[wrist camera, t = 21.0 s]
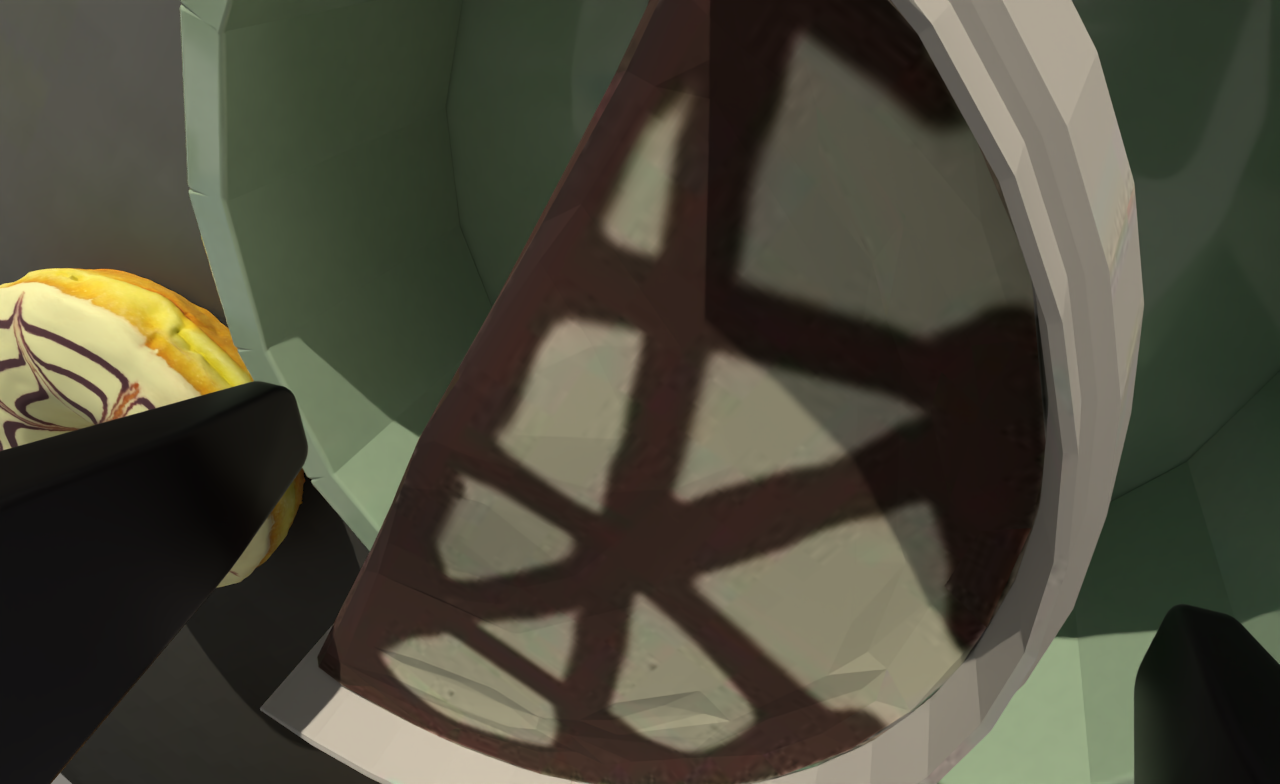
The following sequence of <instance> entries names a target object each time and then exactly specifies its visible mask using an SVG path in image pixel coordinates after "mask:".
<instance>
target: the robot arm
mask: <svg viewBox="0 0 1280 784" xmlns="http://www.w3.org/2000/svg"><path fill="white" fill-rule="evenodd" d="M307 455H308V442H307V439H306V435H305V431H304V427H303V423H302V419H301V416H300V412H299V408H298V404H297V400H296V398H295V396H294V394H293V393H292V392H291V390H289V389H288V388H286V387H284V386H280V385H275V384H271V383H267V382H262V381H253V382H249V383H245V384H241V385H238V386H234V387H230V388H227V389H223V390H220V391H216V392H212V393H209V394H205V395H201V396H198V397H194V398H191V399H187V400H183V401H180V402H176V403H172V404H169V405H165V406H162V407H158V408H154V409H151V410H147V411H143V412H140V413H136V414H133V415H129V416H125V417H122V418H118V419H114V420H111V421H107V422H104V423H100V424H96V425H93V426H89V427H85V428H82V429H78V430H75V431H71V432H67V433H64V434H60V435H57V436H53V437H49V438H46V439H42V440H38V441H35V442H31V443H28V444H24V445H20V446H17V447H13V448H9V449H6V450H2V451H0V784H51V783H52V782H53V780H54V779H55V778H56V777H57V776H58V774H59V773H60V772H61V771H62V770H63V769H64V767H65V766H66V765H67V764H68V763H69V761H70V760H71V759H72V758H73V757H74V756H75V754H76V753H77V752H78V751H79V750H80V748H81V747H82V746H83V745H84V744H85V743H86V741H87V740H88V739H89V738H90V737H91V735H92V734H93V733H94V732H95V731H96V729H97V728H98V727H99V726H100V725H101V724H102V722H103V721H104V720H105V719H106V718H107V716H108V715H109V714H110V713H111V712H112V711H113V709H114V708H115V707H116V706H117V705H118V703H119V702H120V701H121V700H122V699H123V697H124V696H125V695H126V694H127V693H128V692H129V690H130V689H131V688H132V687H133V686H134V684H135V683H136V682H137V681H138V680H139V679H140V677H141V676H142V675H143V674H144V673H145V671H146V670H147V669H148V668H149V667H150V665H151V664H152V663H153V662H154V661H155V660H156V658H157V657H158V656H159V655H160V654H161V652H162V651H163V650H164V649H165V648H166V647H167V645H168V644H169V643H170V642H171V641H172V639H173V638H174V637H175V636H176V635H177V633H178V632H179V631H180V630H181V629H182V628H183V626H184V625H185V624H186V623H187V622H188V620H189V619H190V618H191V617H192V616H193V615H194V613H195V612H196V611H197V610H198V609H199V607H200V606H201V605H202V604H203V603H204V601H205V600H206V599H207V598H208V597H209V596H210V594H211V593H212V592H213V591H214V590H215V588H216V587H217V586H218V585H219V584H220V582H221V581H222V580H223V579H224V577H225V576H226V575H227V574H228V572H229V571H230V570H231V569H232V567H233V566H234V565H235V563H236V562H237V560H238V559H239V558H240V556H241V555H242V554H243V552H244V551H245V549H246V548H247V546H248V545H249V544H250V542H251V541H252V539H253V538H254V536H255V535H256V534H257V532H258V531H259V529H260V528H261V526H262V525H263V523H264V522H265V521H266V519H267V518H268V516H269V515H270V513H271V512H272V511H273V509H274V508H275V506H276V505H277V503H278V502H279V501H280V499H281V498H282V496H283V495H284V493H285V492H286V490H287V489H288V488H289V486H290V485H291V483H292V482H293V480H294V479H295V478H296V476H297V475H298V473H299V472H300V470H301V469H302V467H303V466H304V464H305V461H306V459H307ZM1134 784H1280V664H1279V663H1278V662H1277V661H1276V660H1275V659H1274V658H1273V657H1272V656H1271V655H1270V654H1269V653H1268V652H1267V651H1266V649H1265V648H1264V647H1263V646H1262V645H1261V644H1260V643H1259V642H1258V641H1257V640H1256V639H1255V638H1254V637H1253V636H1252V635H1251V634H1250V632H1249V631H1248V630H1247V629H1246V628H1245V627H1244V626H1243V625H1242V624H1241V623H1240V622H1239V621H1238V620H1236V619H1235V618H1234V617H1232V616H1230V615H1227V614H1225V613H1221V612H1216V611H1212V610H1208V609H1204V608H1200V607H1196V606H1192V605H1187V604H1178V605H1175V606H1173V607H1172V608H1171V609H1170V610H1169V611H1168V612H1167V614H1166V615H1165V617H1164V619H1163V621H1162V623H1161V625H1160V627H1159V629H1158V631H1157V633H1156V634H1155V636H1154V638H1153V640H1152V642H1151V644H1150V646H1149V648H1148V650H1147V652H1146V654H1145V656H1144V658H1143V660H1142V662H1141V664H1140V666H1139V669H1138V672H1137V675H1136V680H1135V686H1134Z"/></svg>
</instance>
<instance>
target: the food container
mask: <svg viewBox="0 0 1280 784" xmlns="http://www.w3.org/2000/svg"><path fill="white" fill-rule="evenodd" d="M1143 311H1144V296H1143V284H1142V272H1141V259H1140V247H1139V234H1138V222H1137V209H1136V197H1135V184H1134V180H1133V176H1132V173H1131V169H1130V166H1129V162H1128V159H1127V155H1126V152H1125V148H1124V144H1123V141H1122V137H1121V134H1120V130H1119V127H1118V123H1117V120H1116V116H1115V113H1114V109H1113V105H1112V102H1111V98H1110V95H1109V91H1108V88H1107V84H1106V81H1105V77H1104V74H1103V70H1102V66H1101V63H1100V59H1099V56H1098V52H1097V50H1096V48H1095V46H1094V44H1093V42H1092V40H1091V38H1090V36H1089V34H1088V32H1087V30H1086V28H1085V26H1084V24H1083V22H1082V20H1081V18H1080V16H1079V14H1078V12H1077V10H1076V8H1075V6H1074V4H1073V2H1072V0H649V2H648V5H647V7H646V10H645V12H644V14H643V16H642V18H641V20H640V22H639V24H638V26H637V29H636V31H635V33H634V35H633V37H632V39H631V41H630V43H629V46H628V48H627V50H626V52H625V54H624V56H623V58H622V60H621V62H620V65H619V67H618V69H617V71H616V73H615V75H614V77H613V79H612V81H611V83H610V85H609V86H608V88H607V90H606V92H605V94H604V96H603V98H602V100H601V102H600V104H599V106H598V107H597V109H596V111H595V113H594V115H593V117H592V119H591V121H590V123H589V125H588V127H587V129H586V130H585V132H584V134H583V136H582V138H581V140H580V142H579V144H578V146H577V148H576V150H575V151H574V153H573V155H572V157H571V159H570V161H569V163H568V165H567V167H566V169H565V171H564V172H563V174H562V176H561V178H560V180H559V182H558V184H557V186H556V188H555V190H554V192H553V194H552V195H551V197H550V199H549V201H548V203H547V205H546V207H545V209H544V211H543V212H542V214H541V216H540V218H539V220H538V222H537V224H536V226H535V228H534V229H533V231H532V233H531V235H530V237H529V239H528V241H527V243H526V245H525V246H524V248H523V250H522V252H521V254H520V256H519V258H518V260H517V262H516V263H515V265H514V267H513V269H512V271H511V273H510V275H509V277H508V279H507V280H506V282H505V284H504V286H503V288H502V290H501V292H500V294H499V296H498V297H497V299H496V301H495V303H494V305H493V307H492V308H491V310H490V312H489V314H488V316H487V317H486V319H485V321H484V323H483V325H482V326H481V328H480V330H479V332H478V334H477V335H476V337H475V339H474V341H473V343H472V344H471V346H470V348H469V350H468V352H467V353H466V355H465V357H464V359H463V361H462V362H461V364H460V366H459V368H458V369H457V371H456V373H455V375H454V377H453V378H452V380H451V382H450V384H449V386H448V387H447V389H446V391H445V393H444V395H443V396H442V398H441V400H440V402H439V404H438V405H437V407H436V409H435V411H434V413H433V414H432V416H431V418H430V420H429V422H428V423H427V425H426V427H425V429H424V431H423V432H422V434H421V436H420V438H419V439H418V442H417V444H416V447H415V449H414V451H413V454H412V456H411V458H410V461H409V463H408V466H407V468H406V470H405V473H404V475H403V477H402V480H401V482H400V485H399V487H398V489H397V492H396V495H395V497H394V500H393V502H392V504H391V507H390V509H389V511H388V513H387V515H386V518H385V520H384V522H383V524H382V526H381V528H380V531H379V533H378V535H377V537H376V539H375V541H374V544H373V546H372V548H371V550H370V552H369V554H368V556H367V558H366V560H365V562H364V564H363V566H362V568H361V570H360V572H359V574H358V576H357V578H356V580H355V582H354V584H353V586H352V588H351V590H350V592H349V594H348V596H347V598H346V600H345V602H344V604H343V606H342V608H341V610H340V612H339V614H338V616H337V618H336V620H335V622H334V624H333V625H332V626H331V627H330V628H329V629H328V631H327V632H326V633H325V634H324V635H323V636H322V638H321V639H320V640H319V641H318V642H317V643H316V644H315V646H314V647H313V648H312V649H311V650H310V651H309V652H308V654H307V655H306V656H305V657H304V658H303V659H302V661H301V662H300V663H299V664H298V665H297V666H296V667H295V669H294V670H293V671H292V672H291V673H290V674H289V675H288V677H287V678H286V679H285V680H284V681H283V682H282V684H281V685H280V686H279V687H278V688H277V689H276V690H275V692H274V693H273V694H272V695H271V696H270V697H269V698H268V700H267V701H266V702H265V703H264V704H263V705H262V707H261V708H260V710H261V711H262V712H264V713H265V714H267V715H268V716H270V717H271V718H273V719H274V720H276V721H277V722H279V723H280V724H282V725H283V726H285V727H286V728H287V729H289V730H290V731H292V732H293V733H295V734H296V735H298V736H299V737H301V738H302V739H304V740H305V741H307V742H308V743H310V744H311V745H313V746H314V747H316V748H318V749H320V750H322V751H323V752H325V753H327V754H329V755H330V756H332V757H334V758H336V759H337V760H339V761H341V762H343V763H344V764H346V765H348V766H350V767H351V768H353V769H355V770H357V771H358V772H360V773H362V774H364V775H366V776H367V777H369V778H371V779H373V780H375V781H378V782H380V783H382V784H937V783H938V782H939V781H940V780H941V779H942V778H943V777H944V776H945V775H946V774H947V773H948V772H949V771H950V770H951V769H952V768H953V767H955V766H956V765H957V764H958V763H959V762H960V761H961V760H962V759H963V758H964V757H965V756H966V755H967V754H968V753H969V752H970V751H971V750H972V749H973V748H974V747H975V746H976V745H977V744H978V743H979V742H980V741H981V740H982V739H983V738H984V737H985V736H986V735H987V734H988V733H989V732H990V731H991V730H992V729H993V727H994V725H995V724H996V722H997V721H998V719H999V718H1000V716H1001V714H1002V713H1003V711H1004V710H1005V708H1006V706H1007V705H1008V703H1009V702H1010V700H1011V699H1012V697H1013V695H1014V694H1015V693H1016V692H1017V691H1018V690H1019V689H1020V688H1021V687H1022V686H1023V685H1024V684H1025V683H1026V681H1027V680H1028V678H1029V677H1030V675H1031V674H1032V672H1033V670H1034V669H1035V667H1036V666H1037V664H1038V663H1039V661H1040V660H1041V658H1042V656H1043V655H1044V653H1045V652H1046V650H1047V649H1048V647H1049V646H1050V644H1051V643H1052V641H1053V639H1054V638H1055V636H1056V635H1057V633H1058V632H1059V630H1060V629H1061V627H1062V625H1063V624H1064V622H1065V621H1066V619H1067V618H1068V616H1069V615H1070V613H1071V612H1072V610H1073V608H1074V605H1075V602H1076V600H1077V597H1078V594H1079V591H1080V589H1081V586H1082V583H1083V580H1084V578H1085V575H1086V572H1087V569H1088V566H1089V564H1090V561H1091V558H1092V555H1093V553H1094V550H1095V547H1096V544H1097V541H1098V539H1099V536H1100V533H1101V530H1102V528H1103V525H1104V522H1105V519H1106V517H1107V513H1108V508H1109V504H1110V500H1111V496H1112V492H1113V487H1114V483H1115V479H1116V475H1117V471H1118V466H1119V462H1120V458H1121V454H1122V449H1123V445H1124V441H1125V437H1126V433H1127V428H1128V424H1129V420H1130V416H1131V410H1132V402H1133V393H1134V385H1135V377H1136V369H1137V360H1138V352H1139V344H1140V336H1141V327H1142V319H1143Z"/></svg>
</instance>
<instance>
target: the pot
mask: <svg viewBox="0 0 1280 784" xmlns="http://www.w3.org/2000/svg"><path fill="white" fill-rule="evenodd" d="M180 2H181V3H182V5H181V6H180V27H181V49H182V72H183V94H184V116H185V138H186V161H187V183H188V186H189V188H190V190H189V191H188V194H189V198H190V201H191V204H192V208H193V211H194V214H195V218H196V221H197V224H198V228H199V231H200V234H201V238H202V241H203V244H204V248H205V251H206V254H207V258H208V261H209V264H210V268H211V271H212V274H213V277H214V281H215V284H216V287H217V291H218V294H219V297H220V301H221V304H222V307H223V311H224V314H225V317H226V321H227V324H228V327H229V331H230V334H231V337H232V341H233V344H234V346H235V347H236V348H238V349H237V350H238V353H239V355H240V357H241V359H242V361H243V362H244V364H245V366H246V368H247V370H248V371H249V373H250V375H251V377H252V379H253V380H254V381H262V382H267V383H271V384H275V385H280V386H284V387H286V388H288V389H289V390H291V392H292V393H293V394H294V396H295V398H296V400H297V404H298V408H299V412H300V416H301V419H302V423H303V427H304V431H305V435H306V439H307V442H308V455H307V459H306V461H305V464H304V466H303V467H302V468H303V470H304V472H305V474H306V476H307V477H308V478H310V479H312V480H311V482H312V484H313V485H314V487H315V488H316V489H317V490H318V491H319V493H320V494H321V495H322V496H323V497H324V498H325V500H326V501H327V502H328V503H329V504H330V506H331V507H332V508H333V509H334V510H335V511H336V513H337V514H338V515H339V516H340V517H341V519H342V520H343V521H344V522H345V523H346V524H347V526H348V527H349V528H350V529H351V530H352V532H353V533H354V534H355V535H356V536H357V537H358V539H359V540H360V541H361V542H362V543H363V544H364V546H365V547H366V548H367V549H368V550H369V552H370V550H371V548H372V546H373V544H374V541H375V539H376V537H377V535H378V533H379V531H380V528H381V526H382V524H383V522H384V520H385V518H386V515H387V513H388V511H389V509H390V507H391V504H392V502H393V500H394V497H395V495H396V492H397V489H398V487H399V485H400V482H401V480H402V477H403V475H404V473H405V470H406V468H407V466H408V463H409V461H410V458H411V456H412V454H413V451H414V449H415V447H416V444H417V442H418V439H419V438H420V436H421V434H422V432H423V431H424V429H425V427H426V425H427V423H428V422H429V420H430V418H431V416H432V414H433V413H434V411H435V409H436V407H437V405H438V404H439V402H440V400H441V398H442V396H443V395H444V393H445V391H446V389H447V387H448V386H449V384H450V382H451V380H452V378H453V377H454V375H455V373H456V371H457V369H458V368H459V366H460V364H461V362H462V361H463V359H464V357H465V355H466V353H467V352H468V350H469V348H470V346H471V344H472V343H473V341H474V339H475V337H476V335H477V334H478V332H479V330H480V328H481V326H482V325H483V323H484V321H485V319H486V317H487V316H488V314H489V312H490V310H491V308H492V307H493V305H494V303H495V301H496V299H497V297H498V296H499V294H500V292H501V290H502V288H503V286H504V284H505V282H506V280H507V279H508V277H509V275H510V273H511V271H512V269H513V267H514V265H515V263H516V262H517V260H518V258H519V256H520V254H521V252H522V250H523V248H524V246H525V245H526V243H527V241H528V239H529V237H530V235H531V233H532V231H533V229H534V228H535V226H536V224H537V222H538V220H539V218H540V216H541V214H542V212H543V211H544V209H545V207H546V205H547V203H548V201H549V199H550V197H551V195H552V194H553V192H554V190H555V188H556V186H557V184H558V182H559V180H560V178H561V176H562V174H563V172H564V171H565V169H566V167H567V165H568V163H569V161H570V159H571V157H572V155H573V153H574V151H575V150H576V148H577V146H578V144H579V142H580V140H581V138H582V136H583V134H584V132H585V130H586V129H587V127H588V125H589V123H590V121H591V119H592V117H593V115H594V113H595V111H596V109H597V107H598V106H599V104H600V102H601V100H602V98H603V96H604V94H605V92H606V90H607V88H608V86H609V85H610V83H611V81H612V79H613V77H614V75H615V73H616V71H617V69H618V67H619V65H620V62H621V60H622V58H623V56H624V54H625V52H626V50H627V48H628V46H629V43H630V41H631V39H632V37H633V35H634V33H635V31H636V29H637V26H638V24H639V22H640V20H641V18H642V16H643V14H644V12H645V10H646V7H647V5H648V2H649V0H180ZM1072 2H1073V4H1074V6H1075V8H1076V10H1077V12H1078V14H1079V16H1080V18H1081V20H1082V22H1083V24H1084V26H1085V28H1086V30H1087V32H1088V34H1089V36H1090V38H1091V40H1092V42H1093V44H1094V46H1095V48H1096V50H1097V52H1098V56H1099V59H1100V63H1101V66H1102V70H1103V74H1104V77H1105V81H1106V84H1107V88H1108V91H1109V95H1110V98H1111V102H1112V105H1113V109H1114V113H1115V116H1116V120H1117V123H1118V127H1119V130H1120V134H1121V137H1122V141H1123V144H1124V148H1125V152H1126V155H1127V159H1128V162H1129V166H1130V169H1131V173H1132V176H1133V180H1134V184H1135V197H1136V209H1137V222H1138V234H1139V247H1140V259H1141V272H1142V284H1143V296H1144V311H1143V319H1142V327H1141V336H1140V344H1139V352H1138V360H1137V369H1136V377H1135V385H1134V393H1133V402H1132V410H1131V416H1130V420H1129V424H1128V428H1127V433H1126V437H1125V441H1124V445H1123V449H1122V454H1121V458H1120V462H1119V466H1118V471H1117V475H1116V479H1115V483H1114V487H1113V492H1112V496H1111V500H1110V504H1109V508H1108V513H1107V517H1106V519H1105V522H1104V525H1103V528H1102V530H1101V533H1100V536H1099V539H1098V541H1097V544H1096V547H1095V550H1094V553H1093V555H1092V558H1091V561H1090V564H1089V566H1088V569H1087V572H1086V575H1085V578H1084V580H1083V583H1082V586H1081V589H1080V591H1079V594H1078V597H1077V600H1076V602H1075V605H1074V608H1073V610H1072V612H1071V613H1070V615H1069V616H1068V618H1067V619H1066V621H1065V622H1064V624H1063V625H1062V627H1061V629H1060V630H1059V632H1058V633H1057V635H1056V636H1055V638H1054V639H1053V641H1052V643H1051V644H1050V646H1049V647H1048V649H1047V650H1046V652H1045V653H1044V655H1043V656H1042V658H1041V660H1040V661H1039V663H1038V664H1037V666H1036V667H1035V669H1034V670H1033V672H1032V674H1031V675H1030V677H1029V678H1028V680H1027V681H1026V683H1025V684H1024V685H1023V686H1022V687H1021V688H1020V689H1019V690H1018V691H1017V692H1016V693H1015V694H1014V695H1013V697H1012V699H1011V700H1010V702H1009V703H1008V705H1007V706H1006V708H1005V710H1004V711H1003V713H1002V714H1001V716H1000V718H999V719H998V721H997V722H996V724H995V725H994V727H993V729H992V730H991V731H990V732H989V733H988V734H987V735H986V736H985V737H984V738H983V739H982V740H981V741H980V742H979V743H978V744H977V745H976V746H975V747H974V748H973V749H972V750H971V751H970V752H969V753H968V754H967V755H966V756H965V757H964V758H963V759H962V760H961V761H960V762H959V763H958V764H957V765H956V766H955V767H953V768H952V769H951V770H950V771H949V772H948V773H947V774H946V775H945V776H944V777H943V778H942V779H941V780H940V781H939V782H938V783H937V784H1134V686H1135V680H1136V675H1137V672H1138V669H1139V666H1140V664H1141V662H1142V660H1143V658H1144V656H1145V654H1146V652H1147V650H1148V648H1149V646H1150V644H1151V642H1152V640H1153V638H1154V636H1155V634H1156V633H1157V631H1158V629H1159V627H1160V625H1161V623H1162V621H1163V619H1164V617H1165V615H1166V614H1167V612H1168V611H1169V610H1170V609H1171V608H1172V607H1173V606H1175V605H1178V604H1187V605H1192V606H1196V607H1200V608H1204V609H1208V610H1212V611H1216V612H1221V613H1225V614H1227V615H1230V616H1232V617H1234V618H1235V619H1236V620H1238V621H1239V622H1240V623H1241V624H1242V625H1243V626H1244V627H1245V628H1246V629H1247V630H1248V631H1249V632H1250V634H1251V635H1252V636H1253V637H1254V638H1255V639H1256V640H1257V641H1258V642H1259V643H1260V644H1261V645H1262V646H1263V647H1264V648H1265V649H1266V651H1267V652H1268V653H1269V654H1270V655H1271V656H1272V657H1273V658H1274V659H1275V660H1276V661H1277V662H1278V663H1279V664H1280V0H1072Z"/></svg>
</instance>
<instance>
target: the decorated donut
mask: <svg viewBox="0 0 1280 784" xmlns="http://www.w3.org/2000/svg"><path fill="white" fill-rule="evenodd" d="M237 349H238V348H236V347H235V346H234V344H233V341H232V337H231V334H230V331H229V329H228V328H227V327H226V326H225V325H224V324H222V323H220V321H219V320H218V319H217V318H216V317H215V316H214V315H213V314H212V313H210V312H209V311H208V310H206V309H204V308H201V307H199V306H197V305H195V304H193V303H191V302H189V301H188V300H187V299H186V298H184V297H182V296H181V295H179V294H177V293H176V292H174V291H171V290H169V289H167V288H165V287H163V286H161V285H160V284H157V283H155V282H153V281H151V280H149V279H146V278H142V277H139V276H137V275H134V274H130V273H127V272H124V271H119V270H113V269H95V270H91V269H87V270H84V269H73V268H61V269H59V268H55V269H43V270H37V271H33V272H29V273H28V274H27V275H26V276H24V277H23V278H21V279H20V280H18V281H16V282H13V283H5V284H3V285H0V451H2V450H6V449H9V448H13V447H17V446H20V445H24V444H28V443H31V442H35V441H38V440H42V439H46V438H49V437H53V436H57V435H60V434H64V433H67V432H71V431H75V430H78V429H82V428H85V427H89V426H93V425H96V424H100V423H104V422H107V421H111V420H114V419H118V418H122V417H125V416H129V415H133V414H136V413H140V412H143V411H147V410H151V409H154V408H158V407H162V406H165V405H169V404H172V403H176V402H180V401H183V400H187V399H191V398H194V397H198V396H201V395H205V394H209V393H212V392H216V391H220V390H223V389H227V388H230V387H234V386H238V385H241V384H245V383H249V382H253V381H254V380H253V379H252V377H251V375H250V373H249V371H248V370H247V368H246V366H245V364H244V362H243V361H242V359H241V357H240V355H239V353H238V350H237ZM304 482H305V478H304V470H303V468H302V469H301V470H300V472H299V473H298V475H297V476H296V478H295V479H294V480H293V482H292V483H291V485H290V486H289V488H288V489H287V490H286V492H285V493H284V495H283V496H282V498H281V499H280V501H279V502H278V503H277V505H276V506H275V508H274V509H273V511H272V512H271V513H270V515H269V516H268V518H267V519H266V521H265V522H264V523H263V525H262V526H261V528H260V529H259V531H258V532H257V534H256V535H255V536H254V538H253V539H252V541H251V542H250V544H249V545H248V546H247V548H246V549H245V551H244V552H243V554H242V555H241V556H240V558H239V559H238V560H237V562H236V563H235V565H234V566H233V567H232V569H231V570H230V571H229V572H228V574H227V575H226V576H225V577H224V579H223V580H222V581H221V582H220V584H219V585H218V586H217V587H223V586H227V585H231V584H235V583H239V582H241V581H242V580H243V579H244V578H246V577H248V576H249V575H250V574H251V573H252V572H253V571H254V569H255V568H257V567H258V566H260V565H261V564H263V563H264V562H265V561H267V559H268V558H269V557H270V556H271V555H272V554H273V553H274V551H275V550H276V549H277V547H278V546H279V545H280V544H281V542H282V541H283V540H284V538H286V536H287V534H288V530H289V528H290V527H291V525H292V523H293V520H294V517H295V515H296V513H297V510H298V508H299V505H300V504H301V503H303V502H302V495H303V484H304ZM217 587H216V588H217Z"/></svg>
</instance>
